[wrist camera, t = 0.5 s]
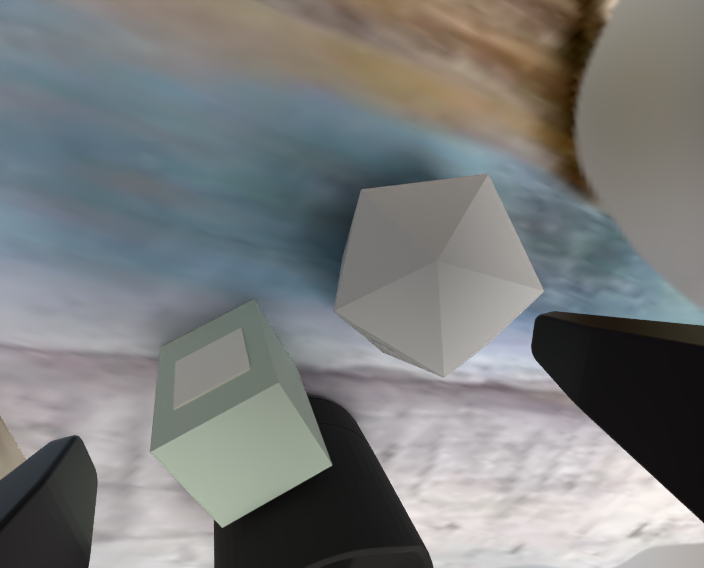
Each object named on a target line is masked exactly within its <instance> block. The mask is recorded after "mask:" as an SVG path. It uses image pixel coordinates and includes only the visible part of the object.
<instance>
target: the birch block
mask: <svg viewBox="0 0 704 568" xmlns="http://www.w3.org/2000/svg"><path fill="white" fill-rule="evenodd" d="M24 461H26V459H25V457H24V455H23V454H22V452H21V450H20V449H19V447H18V445H17V444H16V442H15V440H14V439H13V437H12V435H11V434H10V432H9V430H8V429H7V427H6V425H5V423H4V422H3V420H2V418H1V417H0V480H1V479H2V478H3V477H5V476H6V475H7V474H9V473H10V472H11V471H13V470H14V469H15V468H17V467H18V466H19V465H20V464H22V463H23V462H24Z"/></svg>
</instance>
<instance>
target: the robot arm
mask: <svg viewBox="0 0 704 568" xmlns="http://www.w3.org/2000/svg"><path fill="white" fill-rule="evenodd" d="M531 350H532V354H533V356H534V358H535V359H536V361H537V362H538V363H539V364H540V365H541V366H542V367H543V369H544V370H545V371H546V372H547V373H548V374H549V375H550V376H551V378H552V379H553V380H554V381H555V382H556V383H557V384H558V385H559V387H560V388H561V389H562V390H563V391H564V392H565V393H566V394H567V396H568V397H569V398H570V399H571V400H572V401H573V402H574V403H575V404H576V405H577V406H578V407H579V408H580V409H581V410H582V411H583V412H584V413H585V414H586V415H587V416H588V417H589V418H590V419H591V420H593V421H594V422H595V423H596V424H597V425H598V426H599V427H600V428H601V429H602V430H603V431H605V432H606V433H607V434H608V435H609V436H610V437H611V438H612V439H613V440H614V441H615V442H616V443H618V444H619V445H620V446H621V447H622V448H623V449H624V450H625V451H626V452H627V453H628V454H629V455H631V456H632V457H633V458H634V459H635V460H636V461H637V462H638V463H639V464H640V465H641V466H642V467H644V468H645V469H646V470H647V471H648V472H649V473H650V474H651V475H652V476H653V477H654V478H655V479H657V480H658V481H659V482H660V483H661V484H662V485H663V486H664V487H665V488H666V489H667V490H668V491H670V492H671V493H672V494H673V495H674V496H675V497H676V498H677V499H678V500H679V501H680V502H681V503H683V504H684V505H685V506H686V507H687V508H688V509H689V510H690V511H691V512H692V513H693V514H695V515H696V516H697V517H698V518H699V519H700V520H701V521H702V522H703V523H704V326H701V325H691V324H680V323H670V322H660V321H650V320H639V319H629V318H619V317H609V316H598V315H588V314H578V313H568V312H557V311H554V312H548V313H545V314H541V315H539V316H537V317H536V319H535V322H534V330H533V337H532V344H531ZM97 484H98V482H97V473H96V469H95V467H94V465H93V462H92V460H91V458H90V456H89V454H88V452H87V449H86V447H85V445H84V443H83V441H82V439H81V438H80V437H79V436H77V435H73V436H69V437H65V438H61V439H57V440H54V441H51V442H49V443H48V444H47V445H45V446H44V447H43V448H42V449H40V450H39V451H38V452H36V453H35V454H34V455H32V456H31V457H30V458H28V459H27V460H26V461H24V462H23V463H22V464H20V465H19V466H18V467H17V468H15V469H14V470H13V471H11V472H10V473H9V474H7V475H6V476H5V477H3V478H2V479H1V480H0V568H88V566H89V561H90V553H91V544H92V534H93V524H94V515H95V505H96V495H97Z"/></svg>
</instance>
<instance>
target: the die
mask: <svg viewBox="0 0 704 568" xmlns="http://www.w3.org/2000/svg"><path fill="white" fill-rule="evenodd" d="M543 292H544V290H543V288H542V286H541V284H540V282H539V280H538V277H537V275H536V273H535V271H534V269H533V267H532V265H531V263H530V261H529V258H528V256H527V254H526V252H525V250H524V248H523V246H522V244H521V242H520V239H519V237H518V235H517V233H516V231H515V229H514V227H513V225H512V223H511V220H510V218H509V216H508V214H507V212H506V210H505V208H504V206H503V204H502V201H501V199H500V197H499V195H498V193H497V191H496V189H495V187H494V185H493V183H492V180H491V178H490V176H489V174H483V175H475V176H467V177H458V178H450V179H442V180H434V181H425V182H417V183H409V184H401V185H393V186H384V187H376V188H368V189H361V192H360V195H359V199H358V203H357V206H356V210H355V214H354V217H353V221H352V225H351V228H350V232H349V236H348V239H347V243H346V247H345V250H344V254H343V258H342V263H341V269H340V276H339V282H338V288H337V294H336V300H335V306H334V312H335V313H337V314H338V315H339V316H340V317H341V318H343V319H344V320H345V321H346V322H347V323H349V324H350V325H351V326H352V327H353V328H354V329H356V330H357V331H358V332H359V333H360V334H362V335H363V336H364V337H365V338H366V339H368V340H369V341H370V342H371V343H372V344H374V345H375V346H376V347H377V348H378V349H379V350H381V351H382V352H383V353H386V354H388V355H391V356H393V357H395V358H398V359H400V360H403V361H405V362H407V363H410V364H412V365H415V366H417V367H420V368H422V369H424V370H427V371H429V372H432V373H434V374H436V375H439V376H441V377H444V378H445V377H446V376H447V375H448V374H450V373H451V372H452V371H454V370H455V369H456V368H458V367H459V366H460V365H462V364H463V363H464V362H465V361H467V360H468V359H469V358H471V357H472V356H473V355H475V354H476V353H477V352H478V351H480V350H481V349H482V348H484V347H485V346H486V345H488V344H489V343H490V342H491V341H492V340H493V339H494V338H495V337H496V336H497V335H498V334H499V333H501V332H502V331H503V330H504V329H505V328H506V327H507V326H508V325H509V324H510V323H511V322H512V321H513V320H514V319H515V318H516V317H518V316H519V315H520V314H521V313H522V312H523V311H524V310H525V309H526V308H527V307H528V306H529V305H530V304H531V303H532V302H533V301H534V300H536V299H537V298H538V297H539V296H540V295H541V294H542V293H543Z"/></svg>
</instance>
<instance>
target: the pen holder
mask: <svg viewBox="0 0 704 568" xmlns="http://www.w3.org/2000/svg"><path fill="white" fill-rule="evenodd" d="M308 399H309V402H310V405H311V408H312V410H313V413H314V416H315V419H316V421H317V424H318V427H319V430H320V432H321V435H322V438H323V441H324V443H325V446H326V449H327V452H328V454H329V457H330V460H331V463H332V466H330V467H329V468H327V469H325V470H323V471H322V472H320V473H318V474H316V475H315V476H313V477H311V478H309V479H308V480H306V481H304V482H302V483H301V484H299V485H297V486H295V487H293V488H292V489H290V490H288V491H286V492H285V493H283V494H281V495H279V496H278V497H276V498H274V499H272V500H271V501H269V502H267V503H265V504H264V505H262V506H260V507H258V508H256V509H255V510H253V511H251V512H249V513H248V514H246V515H244V516H242V517H241V518H239V519H237V520H235V521H234V522H232V523H230V524H228V525H227V526H225V527H223V528H222V527H221V526H220V525H219V524H218V523H217V522H216V521H215V520H214V568H433V564H432V560H431V558H430V555H429V552H428V550H427V549H426V547H425V545H424V543H423V541H422V539H421V538H420V536H419V534H418V532H417V530H416V529H415V527H414V525H413V523H412V521H411V519H410V518H409V516H408V514H407V512H406V510H405V508H404V507H403V505H402V503H401V501H400V499H399V498H398V496H397V494H396V492H395V490H394V488H393V487H392V485H391V483H390V481H389V479H388V477H387V476H386V474H385V472H384V470H383V468H382V467H381V465H380V463H379V461H378V459H377V457H376V456H375V454H374V452H373V450H372V449H371V447H370V445H369V443H368V442H367V440H366V438H365V436H364V435H363V433H362V431H361V429H360V428H359V426H358V425H357V423H356V421H355V420H354V419H353V417H352V416H351V415H350V414H349V413H348V412H347V411H345V410H344V409H343V408H341V407H339V406H338V405H336V404H334V403H331V402H328V401H325V400H320V399H313V398H308Z"/></svg>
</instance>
